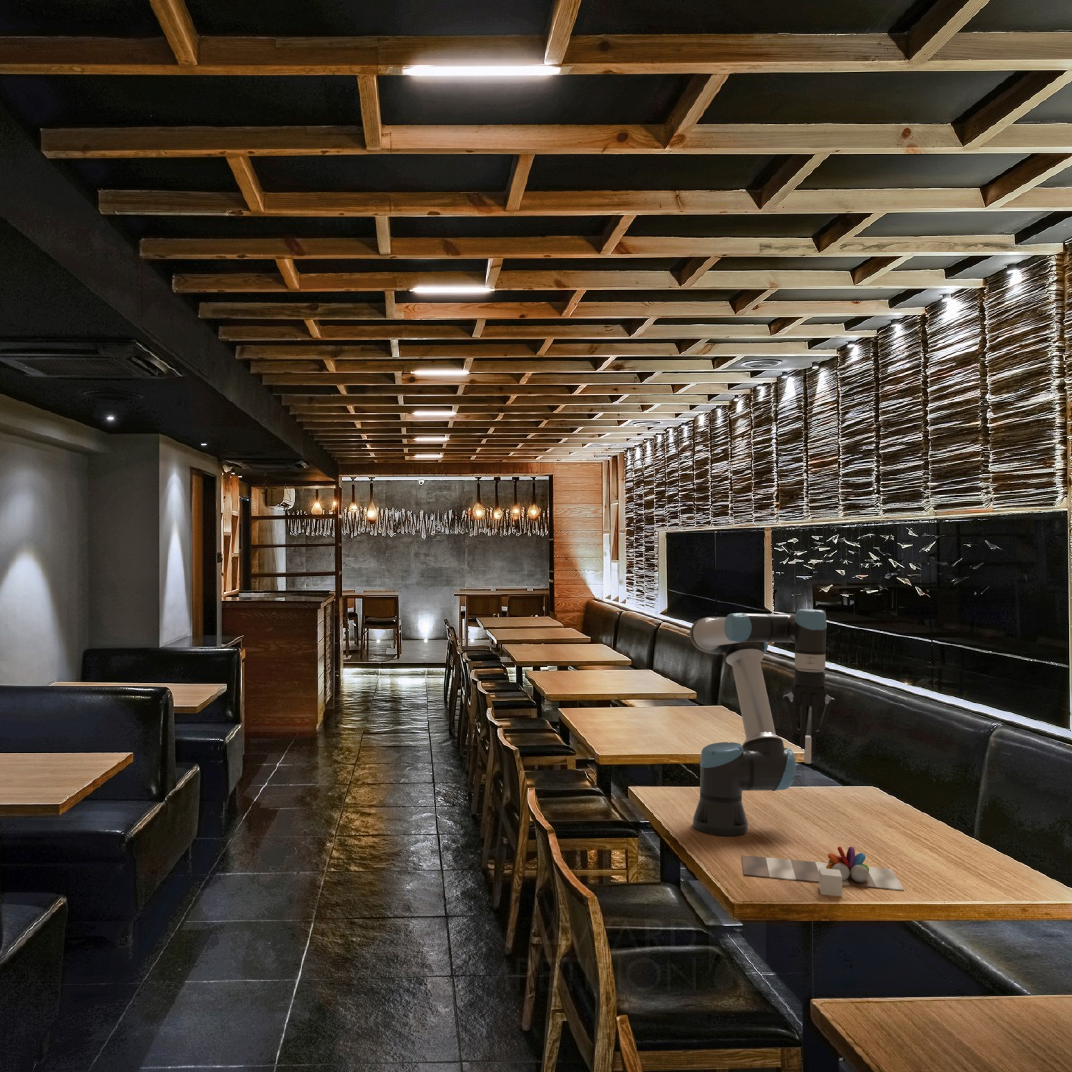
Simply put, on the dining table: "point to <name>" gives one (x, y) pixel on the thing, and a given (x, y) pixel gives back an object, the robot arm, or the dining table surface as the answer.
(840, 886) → the cube
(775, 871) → the striped mat
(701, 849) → the dining table surface
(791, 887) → the dining table surface
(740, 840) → the dining table surface
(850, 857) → the rainbow segmented toy
